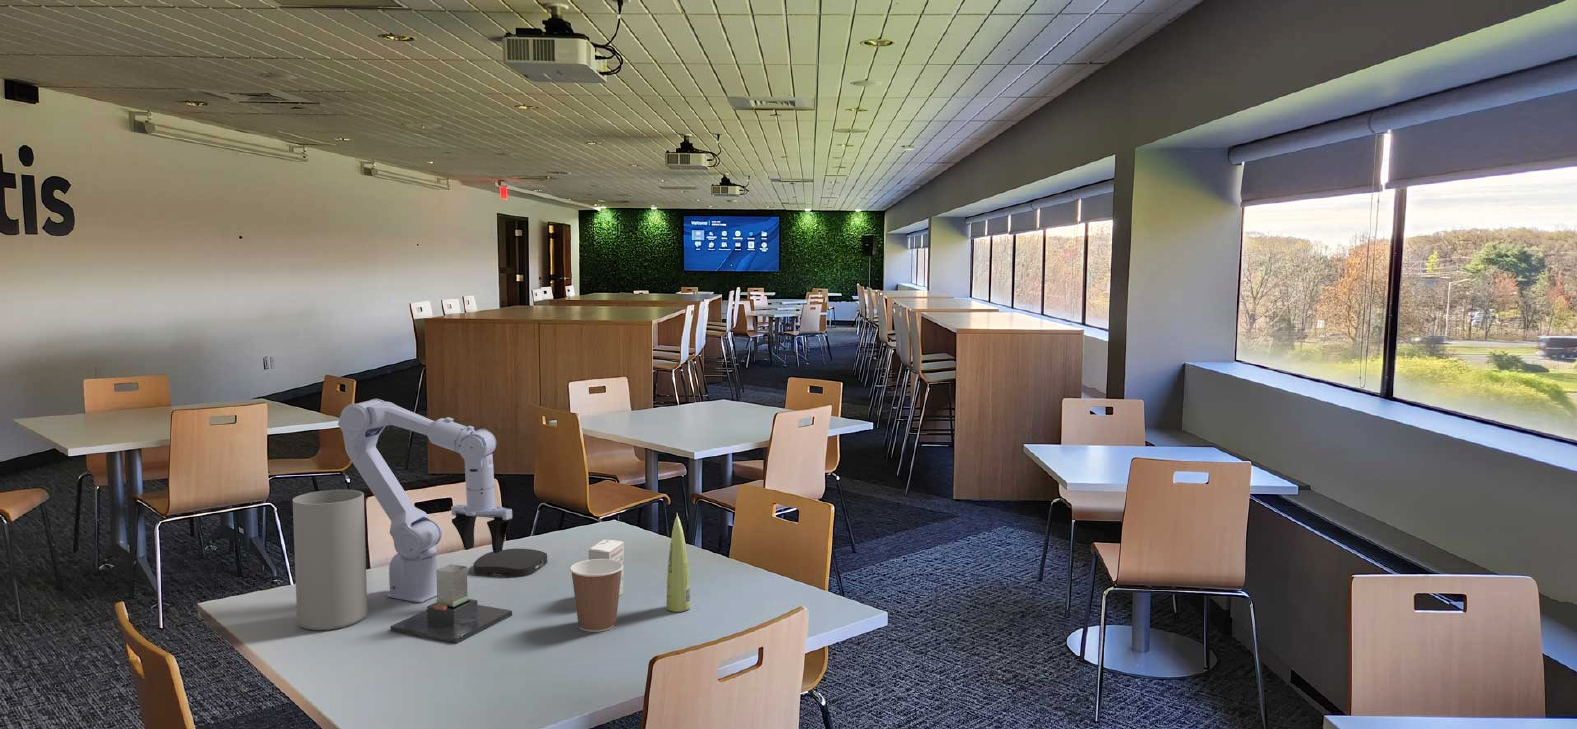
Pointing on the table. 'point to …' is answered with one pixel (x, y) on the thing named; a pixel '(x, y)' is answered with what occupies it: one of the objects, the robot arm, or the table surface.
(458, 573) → the column
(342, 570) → the cylinder vase
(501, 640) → the table surface
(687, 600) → the tube
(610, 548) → the ink box
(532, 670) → the table surface
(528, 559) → the media streaming box
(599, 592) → the coffee cup
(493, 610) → the stand
